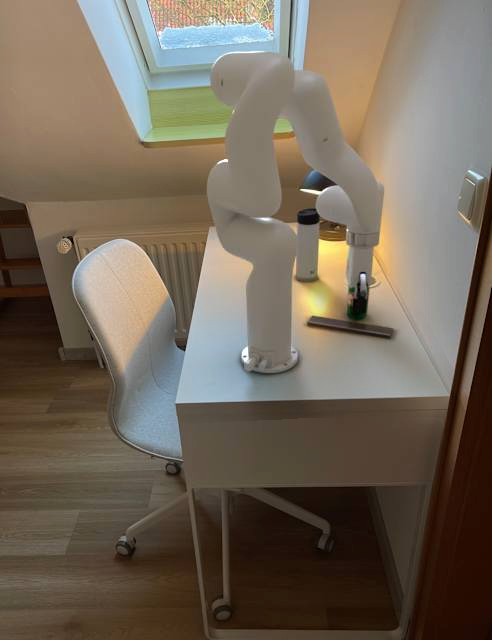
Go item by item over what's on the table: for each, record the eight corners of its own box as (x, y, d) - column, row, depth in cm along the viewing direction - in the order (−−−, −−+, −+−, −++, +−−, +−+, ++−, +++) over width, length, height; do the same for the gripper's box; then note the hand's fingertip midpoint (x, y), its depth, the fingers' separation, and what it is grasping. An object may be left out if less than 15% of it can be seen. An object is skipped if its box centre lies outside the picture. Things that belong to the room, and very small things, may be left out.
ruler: (390, 338, 127) (390, 335, 126) (307, 325, 135) (307, 322, 134) (393, 331, 130) (393, 327, 129) (312, 318, 138) (312, 315, 137)
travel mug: (317, 282, 156) (320, 213, 146) (294, 281, 157) (296, 212, 147) (319, 273, 161) (322, 206, 151) (296, 273, 163) (298, 206, 152)
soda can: (343, 318, 137) (346, 273, 130) (350, 310, 140) (354, 266, 134) (362, 322, 134) (366, 277, 128) (369, 314, 138) (374, 270, 131)
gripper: (342, 225, 134) (338, 291, 143) (350, 250, 119) (344, 321, 129) (373, 224, 133) (367, 290, 142) (385, 249, 119) (377, 321, 128)
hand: (356, 305), depth 135 cm, fingers open, 7 cm apart
